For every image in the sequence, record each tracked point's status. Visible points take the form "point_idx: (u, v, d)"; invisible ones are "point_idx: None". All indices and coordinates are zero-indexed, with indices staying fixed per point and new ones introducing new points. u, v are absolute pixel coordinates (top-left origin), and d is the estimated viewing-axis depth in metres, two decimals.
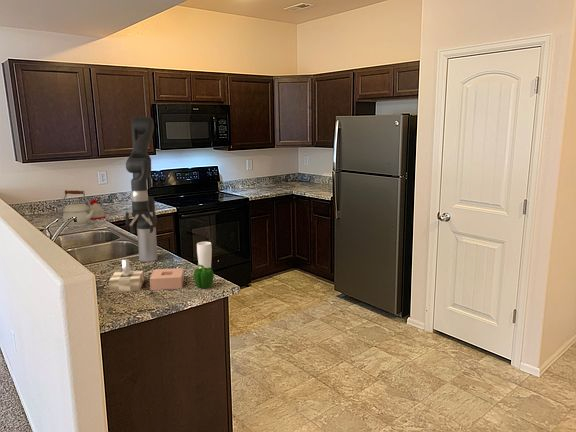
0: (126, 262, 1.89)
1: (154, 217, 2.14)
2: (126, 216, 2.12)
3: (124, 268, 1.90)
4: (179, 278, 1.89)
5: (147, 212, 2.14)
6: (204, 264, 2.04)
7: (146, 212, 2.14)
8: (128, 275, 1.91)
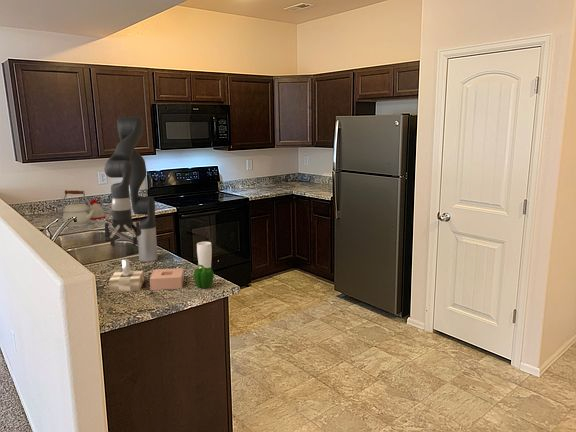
0: (125, 262, 1.89)
1: (138, 228, 1.88)
2: (106, 227, 1.85)
3: (124, 268, 1.89)
4: (179, 278, 1.89)
5: (130, 222, 1.87)
6: (204, 264, 2.04)
7: (129, 222, 1.87)
8: (128, 275, 1.91)
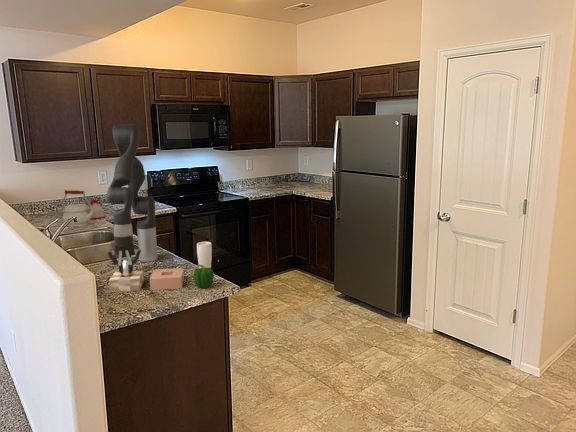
0: (126, 262, 1.89)
1: (137, 256, 1.90)
2: (110, 256, 1.88)
3: (124, 268, 1.89)
4: (179, 278, 1.89)
5: (132, 248, 1.89)
6: (204, 264, 2.04)
7: (131, 248, 1.89)
8: (128, 275, 1.91)
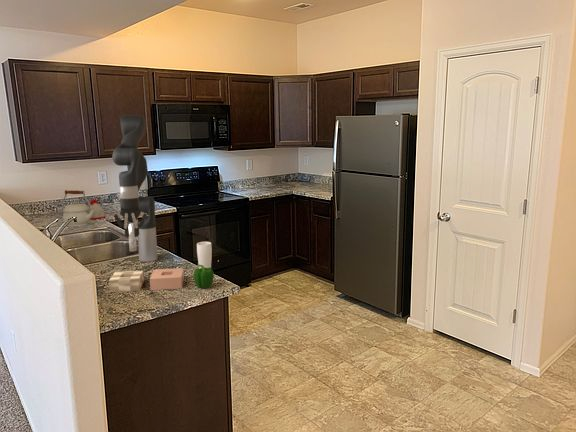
0: (131, 225, 1.87)
1: (143, 219, 1.87)
2: (116, 218, 1.85)
3: (130, 231, 1.87)
4: (179, 278, 1.89)
5: (138, 211, 1.86)
6: (204, 264, 2.04)
7: (137, 210, 1.86)
8: (134, 239, 1.88)
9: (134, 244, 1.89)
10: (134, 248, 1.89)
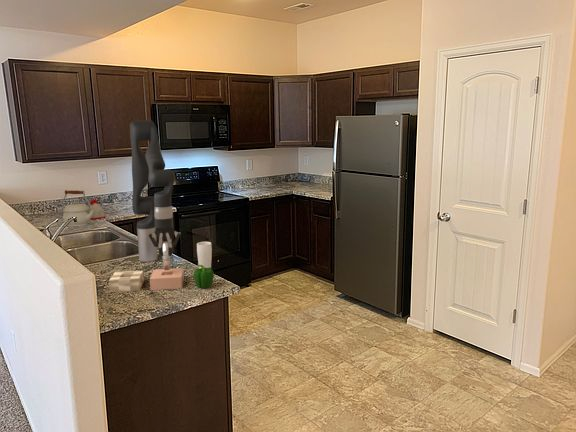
0: (166, 245, 1.90)
1: (177, 239, 1.91)
2: (151, 238, 1.89)
3: (164, 250, 1.91)
4: (179, 278, 1.89)
5: (172, 231, 1.90)
6: (204, 264, 2.04)
7: (171, 230, 1.90)
8: (168, 258, 1.92)
9: (168, 263, 1.92)
10: (168, 267, 1.93)
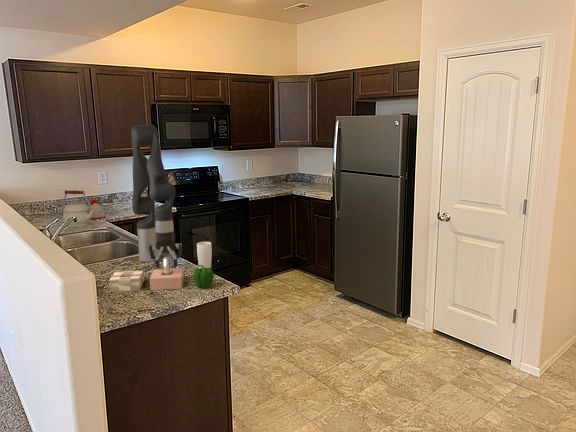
0: (167, 260, 1.92)
1: (179, 250, 1.92)
2: (150, 250, 1.90)
3: (165, 266, 1.92)
4: (179, 278, 1.89)
5: (173, 244, 1.91)
6: (204, 264, 2.04)
7: (172, 244, 1.91)
8: (169, 273, 1.93)
9: None
10: None
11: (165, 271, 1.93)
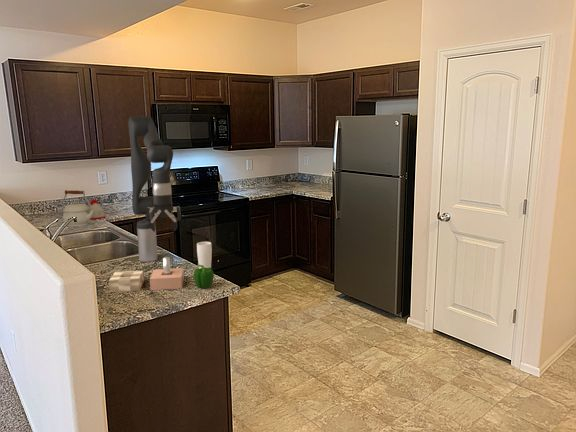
0: (167, 260, 1.92)
1: (178, 213, 1.89)
2: (147, 212, 1.87)
3: (165, 266, 1.92)
4: (179, 278, 1.89)
5: (170, 207, 1.88)
6: (204, 264, 2.04)
7: (169, 207, 1.88)
8: (169, 273, 1.93)
9: None
10: None
11: (165, 271, 1.93)
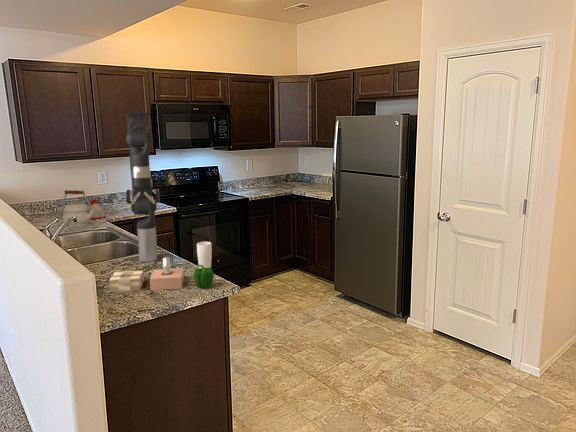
0: (167, 260, 1.92)
1: (157, 195, 1.99)
2: (127, 194, 1.97)
3: (165, 266, 1.92)
4: (179, 278, 1.89)
5: (150, 190, 1.98)
6: (204, 264, 2.04)
7: (149, 190, 1.98)
8: (169, 273, 1.93)
9: None
10: None
11: (165, 271, 1.93)
